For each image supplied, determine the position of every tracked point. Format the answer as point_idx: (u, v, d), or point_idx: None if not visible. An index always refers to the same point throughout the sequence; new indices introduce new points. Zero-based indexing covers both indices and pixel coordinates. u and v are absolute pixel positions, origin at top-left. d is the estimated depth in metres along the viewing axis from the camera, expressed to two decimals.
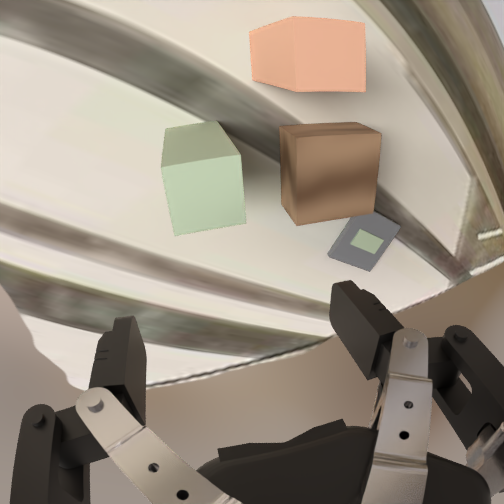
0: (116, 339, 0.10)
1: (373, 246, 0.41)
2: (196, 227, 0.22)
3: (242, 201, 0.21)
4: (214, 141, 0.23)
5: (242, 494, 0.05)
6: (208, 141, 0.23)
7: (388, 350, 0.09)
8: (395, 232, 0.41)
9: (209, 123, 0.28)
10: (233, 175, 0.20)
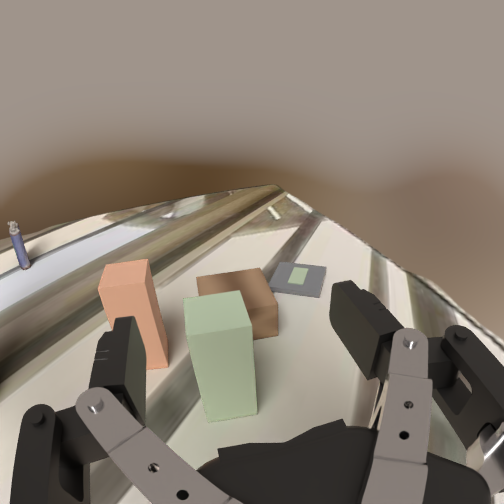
0: (116, 339, 0.10)
1: (301, 271, 0.52)
2: (243, 313, 0.25)
3: (220, 293, 0.28)
4: None
5: (242, 494, 0.05)
6: None
7: (388, 350, 0.09)
8: (286, 263, 0.55)
9: None
10: (198, 300, 0.27)
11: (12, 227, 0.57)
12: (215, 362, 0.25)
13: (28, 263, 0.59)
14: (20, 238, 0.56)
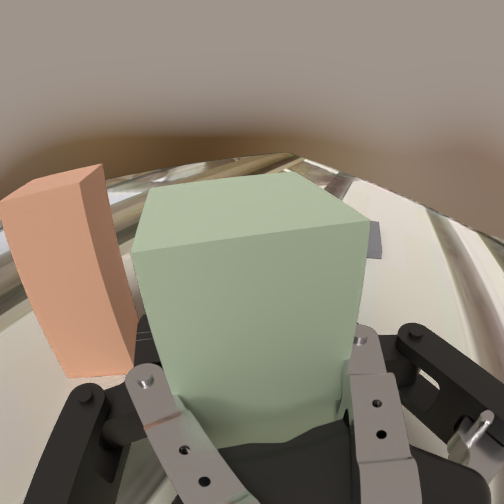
0: None
1: None
2: (325, 200, 0.08)
3: (247, 176, 0.11)
4: None
5: None
6: None
7: None
8: None
9: None
10: (190, 186, 0.10)
11: None
12: (238, 363, 0.08)
13: None
14: None
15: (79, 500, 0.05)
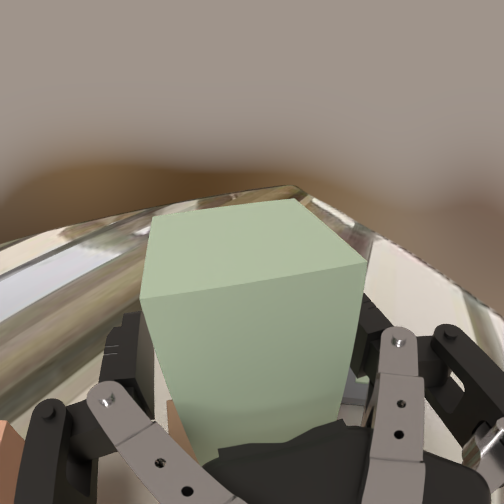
0: (125, 334, 0.10)
1: None
2: (325, 236, 0.08)
3: (248, 204, 0.11)
4: None
5: (242, 494, 0.05)
6: None
7: (376, 348, 0.09)
8: None
9: None
10: (192, 216, 0.10)
11: None
12: (241, 391, 0.08)
13: None
14: None
15: None
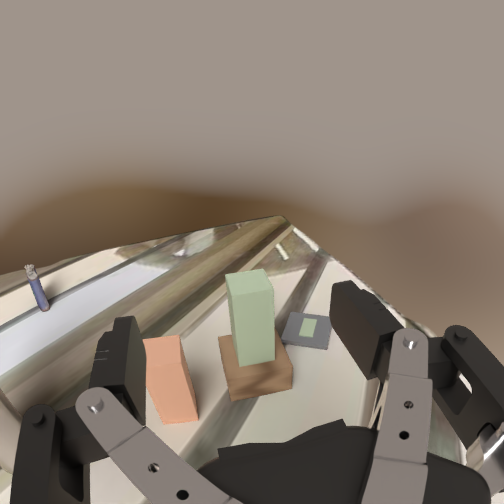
0: (116, 339, 0.10)
1: (310, 322, 0.56)
2: (267, 282, 0.39)
3: (250, 271, 0.42)
4: (229, 305, 0.42)
5: (242, 494, 0.05)
6: (230, 308, 0.42)
7: (388, 350, 0.09)
8: (296, 313, 0.59)
9: (233, 342, 0.45)
10: (236, 275, 0.41)
11: (29, 271, 0.61)
12: (249, 315, 0.39)
13: (47, 305, 0.63)
14: (38, 282, 0.60)
15: None
